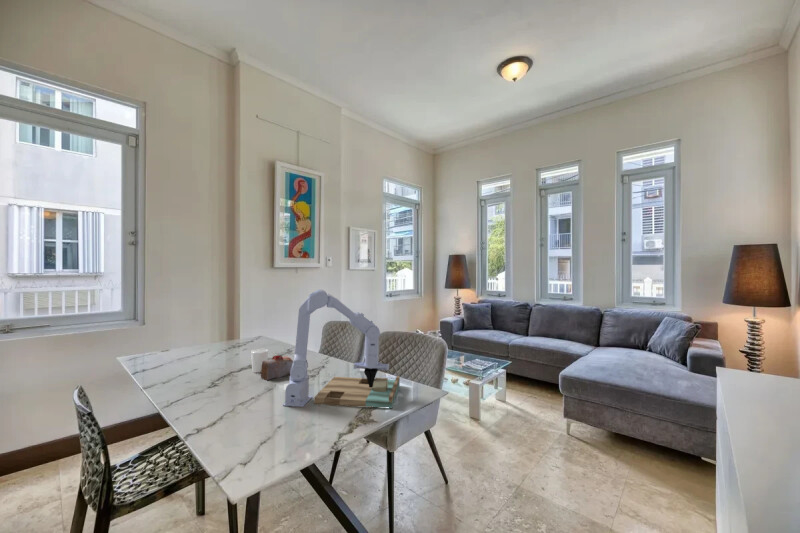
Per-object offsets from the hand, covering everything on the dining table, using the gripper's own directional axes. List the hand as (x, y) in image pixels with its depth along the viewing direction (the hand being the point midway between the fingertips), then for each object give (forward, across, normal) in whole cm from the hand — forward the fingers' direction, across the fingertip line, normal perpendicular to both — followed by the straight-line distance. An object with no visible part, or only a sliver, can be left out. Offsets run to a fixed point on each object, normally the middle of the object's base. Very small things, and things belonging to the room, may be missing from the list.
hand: (371, 386), depth 134 cm
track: (+3, +5, 0) cm, 6 cm away
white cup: (+4, +62, -22) cm, 66 cm away
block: (+1, -4, 0) cm, 4 cm away
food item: (+4, +49, -16) cm, 52 cm away
